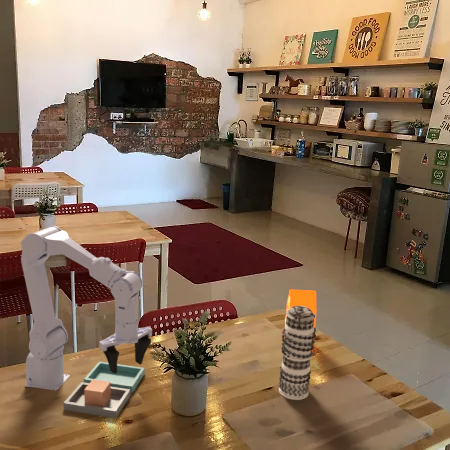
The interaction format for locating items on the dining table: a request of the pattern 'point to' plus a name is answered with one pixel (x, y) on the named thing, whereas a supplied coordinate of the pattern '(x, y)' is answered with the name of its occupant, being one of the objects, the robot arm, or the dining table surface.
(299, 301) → the orange juice
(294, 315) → the decorative candle
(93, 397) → the terracotta block
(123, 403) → the grey bin
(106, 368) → the teal bin
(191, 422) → the dining table surface
